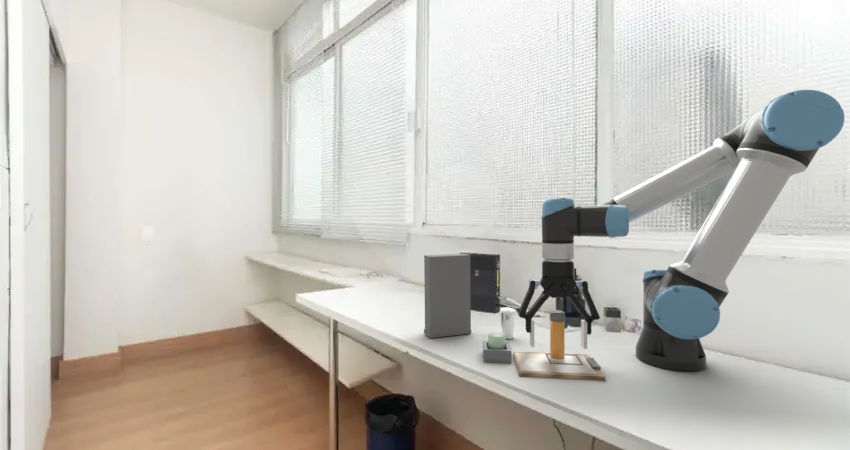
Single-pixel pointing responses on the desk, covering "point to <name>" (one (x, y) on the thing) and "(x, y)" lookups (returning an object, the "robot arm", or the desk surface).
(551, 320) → the orange capped bottle
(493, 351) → the button housing
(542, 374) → the clipboard
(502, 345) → the button
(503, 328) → the milkshake
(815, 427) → the desk surface
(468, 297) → the tall grey upright box
